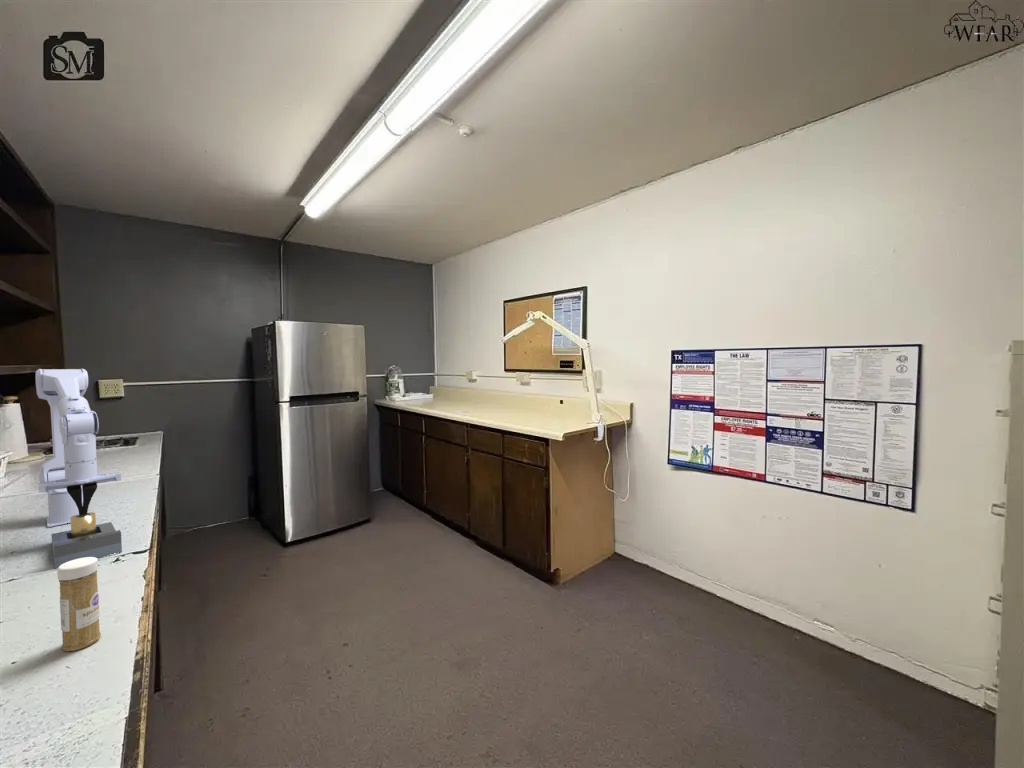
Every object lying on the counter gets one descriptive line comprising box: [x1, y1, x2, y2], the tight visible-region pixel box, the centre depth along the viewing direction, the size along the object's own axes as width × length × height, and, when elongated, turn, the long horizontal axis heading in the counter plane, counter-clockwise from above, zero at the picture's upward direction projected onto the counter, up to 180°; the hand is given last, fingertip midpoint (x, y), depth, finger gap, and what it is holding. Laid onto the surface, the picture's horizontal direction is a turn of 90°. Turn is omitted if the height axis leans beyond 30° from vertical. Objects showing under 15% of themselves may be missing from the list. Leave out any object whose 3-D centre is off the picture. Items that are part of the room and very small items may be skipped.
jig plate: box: [51, 521, 123, 570], centre depth 104 cm, size 20×11×5 cm, turn 49°
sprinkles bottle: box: [57, 557, 102, 652], centre depth 69 cm, size 5×5×13 cm
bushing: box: [70, 511, 97, 539], centre depth 108 cm, size 4×4×7 cm
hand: (83, 513), depth 107 cm, fingers closed
